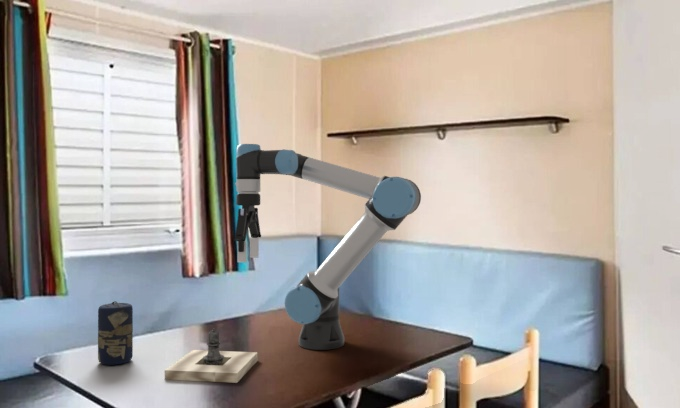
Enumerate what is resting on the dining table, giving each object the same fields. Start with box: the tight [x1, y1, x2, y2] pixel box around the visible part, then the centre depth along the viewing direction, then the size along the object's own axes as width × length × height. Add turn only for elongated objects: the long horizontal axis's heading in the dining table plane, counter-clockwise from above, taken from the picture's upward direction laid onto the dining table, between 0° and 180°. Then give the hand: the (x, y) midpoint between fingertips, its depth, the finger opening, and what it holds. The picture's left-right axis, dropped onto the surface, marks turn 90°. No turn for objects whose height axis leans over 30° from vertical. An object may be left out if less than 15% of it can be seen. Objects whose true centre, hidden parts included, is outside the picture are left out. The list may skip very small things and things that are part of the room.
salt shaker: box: [203, 327, 224, 365], centre depth 161 cm, size 6×6×12 cm
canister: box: [97, 300, 134, 366], centre depth 168 cm, size 10×10×18 cm
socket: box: [164, 349, 258, 384], centre depth 161 cm, size 20×20×2 cm
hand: (248, 260), depth 181 cm, fingers open, 13 cm apart
